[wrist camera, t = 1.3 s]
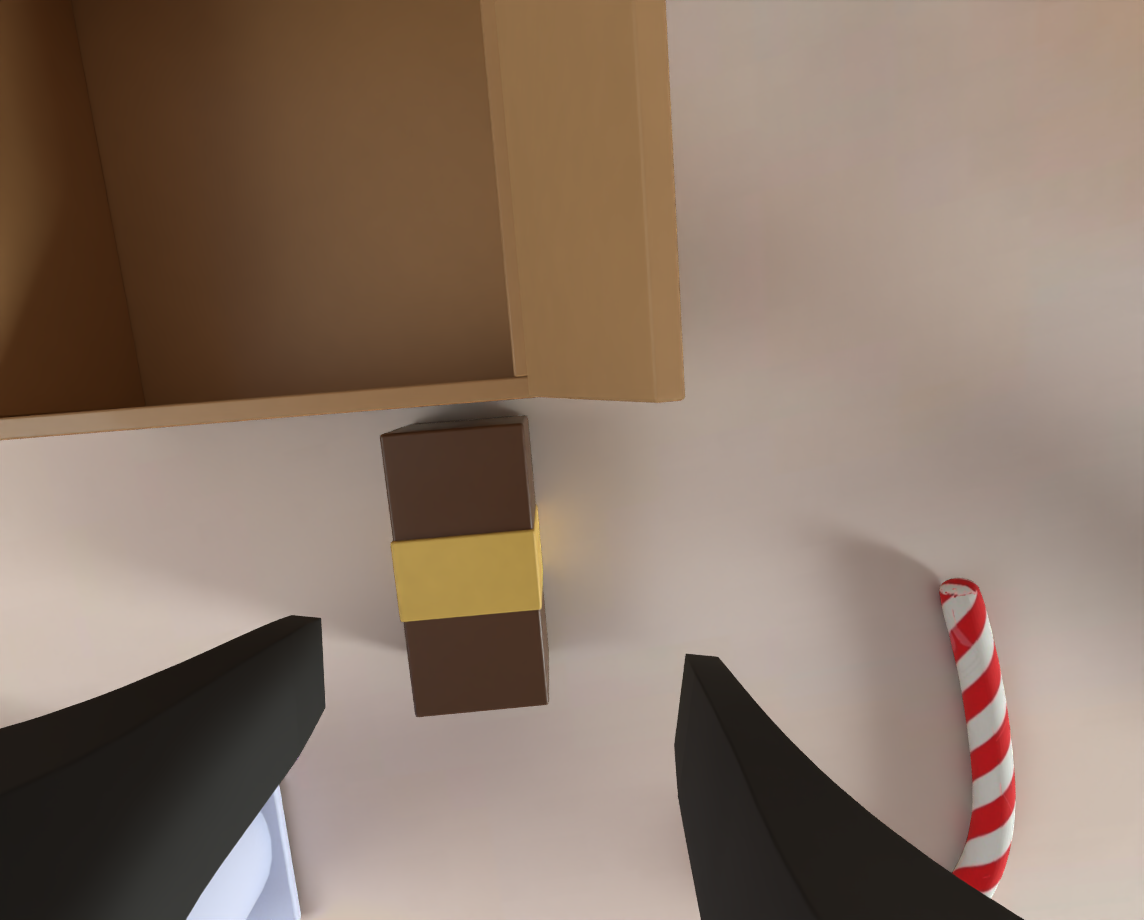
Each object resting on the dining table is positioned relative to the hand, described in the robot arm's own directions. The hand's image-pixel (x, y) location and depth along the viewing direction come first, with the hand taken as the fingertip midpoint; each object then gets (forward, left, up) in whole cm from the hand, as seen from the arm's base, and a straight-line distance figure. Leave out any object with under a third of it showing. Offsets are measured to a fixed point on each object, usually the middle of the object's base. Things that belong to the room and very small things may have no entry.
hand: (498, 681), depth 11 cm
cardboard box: (-5, +12, -9) cm, 16 cm away
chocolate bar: (-1, 0, -9) cm, 9 cm away
